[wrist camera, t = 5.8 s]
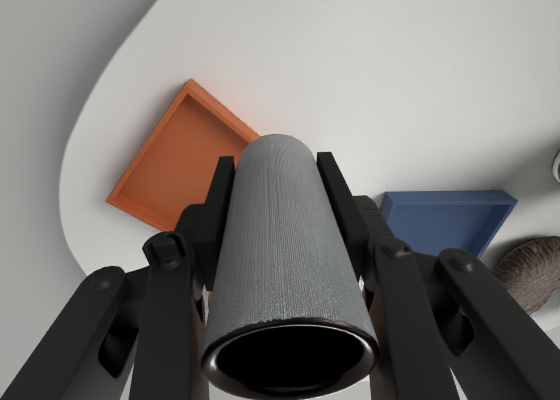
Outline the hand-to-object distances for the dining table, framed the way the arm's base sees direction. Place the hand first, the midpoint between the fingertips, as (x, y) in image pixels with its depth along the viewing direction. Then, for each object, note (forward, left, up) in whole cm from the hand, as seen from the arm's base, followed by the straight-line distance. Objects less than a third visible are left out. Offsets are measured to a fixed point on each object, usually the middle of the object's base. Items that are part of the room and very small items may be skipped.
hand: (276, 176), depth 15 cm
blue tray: (-23, +19, -15) cm, 33 cm away
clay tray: (+9, +8, -15) cm, 19 cm away
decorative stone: (-42, +28, -15) cm, 53 cm away
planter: (0, 0, 0) cm, 1 cm away
